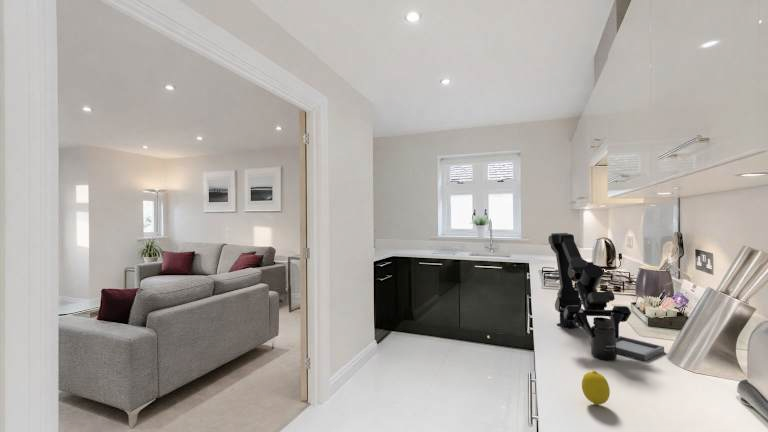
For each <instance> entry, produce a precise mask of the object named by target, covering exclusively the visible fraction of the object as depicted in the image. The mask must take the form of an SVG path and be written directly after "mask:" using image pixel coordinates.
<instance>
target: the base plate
mask: <svg viewBox="0 0 768 432" xmlns="http://www.w3.org/2000/svg"><path fill="white" fill-rule="evenodd" d="M616 352H617V354H619V355H622V356H625V357H629V358H632V359H636V360H639V361H643V362H647V361H649V360H651V359H653V358H655V357H657V356H659V355H661V354H664V353H665V346H663V345H660V344H654V343H651V342H646V341H642V340H637V339H634V338H630V337H627V336H622V335H619V338H618V339H617V338H616Z"/></svg>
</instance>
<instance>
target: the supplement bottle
mask: <svg viewBox="0 0 768 432" xmlns="http://www.w3.org/2000/svg"><path fill="white" fill-rule="evenodd" d="M592 324H593V325H592V326H590V327H591V329H592V332H593V335H594V337H593V338H591V337H590V354H591V356H592V357H593V358H595V359H598V360H601V361H602V360H603V361H608V362H609V361H615V360H616V359H617V354H618V353H617V352H616V332H615V330H614V329H613V328H611V326H612V324H611V320H610V318H609V317H608V318H607V317H603V316H594V317H593V322H592Z"/></svg>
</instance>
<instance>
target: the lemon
mask: <svg viewBox="0 0 768 432" xmlns="http://www.w3.org/2000/svg"><path fill="white" fill-rule="evenodd" d="M581 390H582V393H583V395H584V397H585V398H586V399H587V400H588V401H589V402H590V403H593V404H594V406H599V405H603V404H606V402H607V401H608V400H609V398H610V394H611V393H610V391H611V390H610V385H609V383H608V380H607V379H606V377H605V376H604V375H603V374H601V373H599V372H598V371H596V370H592V371H588V372H586V373H585V374H584V375H583V377H582V380H581Z"/></svg>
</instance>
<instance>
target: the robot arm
mask: <svg viewBox="0 0 768 432" xmlns="http://www.w3.org/2000/svg"><path fill="white" fill-rule="evenodd" d="M548 243H549V245H550V248H551V251H553V252H554V254H555V256H556V257H555V259H556V264H557V270H558V271H557V272H558V277H559V284H560V288H559V289H558V292H557V293H556V295H557V297H556V299H555V302H554V309H555V310H556V311H557V313H559V323H557V324H558V325H557V326H559V325H562V326H561V327H563V326H565V327H564V328H567V327H568V328H567V329H571V328H572V329H575V327H576V328H579V327H580V328H581V329H583V331H585V332H586V333H587V335H589V337H590V339H591V338H593V337H594V335H593V332H592V329H591V327H592V326H591V325H590V322H589V320H588V317H608V319H610V320H611V324H612V326H611V328H613V329H614V330H615V332H616V338H617V339H618V338H619V336H620V335H619V333H620V327H619V326H620V323H622V322H623V323H625V322H627V321H628V319H629V318H630V316H631V315H632V311H631V309H630V307H628V306H626V305H613V308H612V309H605V308H607V307H608V305H607V303H610V302H613V301H615V295H614V292H613V290H611V289H610V290H608V289H607V290H605V291H598V290H597V287H598V286H600V285H599V284H600V282H601V280H602V278H603V276H604V270H603V268H601V267H600V266H599V265H596V264H594V262H593V261H590V262H589V261H587V260H585V259H584V258H583V257H582V256H581V254H580V251H579V249H578V247H577V244H576V242H575V236H574V234H573V233H572V234H571V233H568V232H555V233H551V234H550V235H548ZM574 281H577V282H576V283H575V284H576V285H575V287H576V288H575V287H574V285H573V284H574V283H573V282H574ZM582 306H583V308H582ZM578 326H579V327H578Z"/></svg>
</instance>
